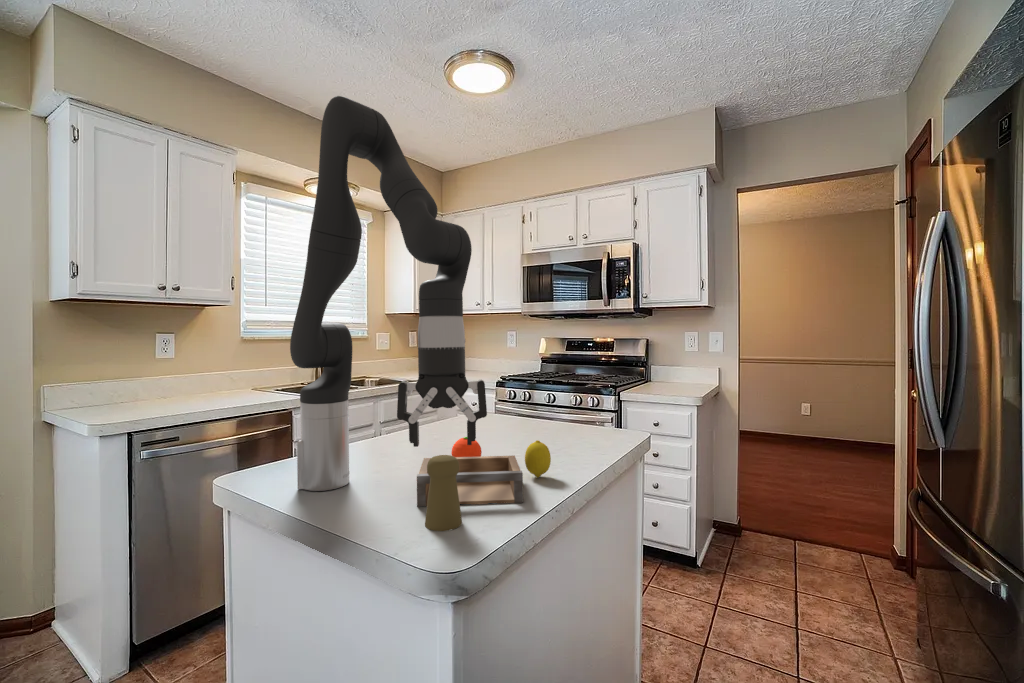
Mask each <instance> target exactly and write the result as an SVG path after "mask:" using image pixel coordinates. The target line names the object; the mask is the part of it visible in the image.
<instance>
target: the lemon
mask: <svg viewBox="0 0 1024 683" xmlns="http://www.w3.org/2000/svg"><path fill="white" fill-rule="evenodd" d="M524 453H525V454H524V463H525V466H526V469H527V471H528V472H529V473H530V474H532V475H533V476H535V478H540V477H541V476H542V475H544V474H546V473H547V472H548V470H549V469H550V466H551V462H552V461H551V460H552V459H551V452H550V449H549V447H548V446H547V445H546V444H545V443H543V442H541V441H540V440H539V439H538V440H535V441H534V442H531V443H530V444H529V445H528V446H527V448H526V450H525V452H524Z"/></svg>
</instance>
